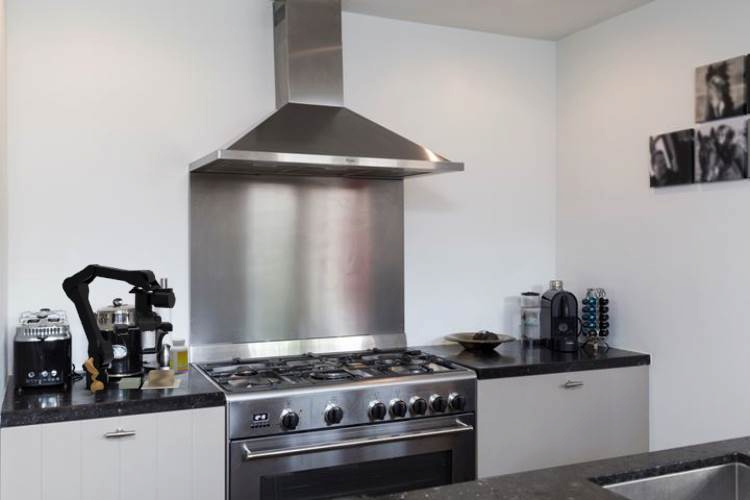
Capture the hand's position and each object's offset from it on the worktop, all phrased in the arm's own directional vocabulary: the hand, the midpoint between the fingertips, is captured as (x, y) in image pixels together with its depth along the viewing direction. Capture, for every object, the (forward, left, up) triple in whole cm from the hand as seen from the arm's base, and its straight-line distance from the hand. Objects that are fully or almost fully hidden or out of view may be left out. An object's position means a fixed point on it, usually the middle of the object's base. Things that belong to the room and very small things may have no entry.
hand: (142, 353), depth 244 cm
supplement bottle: (+10, +26, -12) cm, 30 cm away
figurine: (-15, -4, -12) cm, 20 cm away
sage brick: (-4, -2, -12) cm, 13 cm away
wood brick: (+6, 0, -11) cm, 12 cm away
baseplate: (+6, 0, -12) cm, 14 cm away
